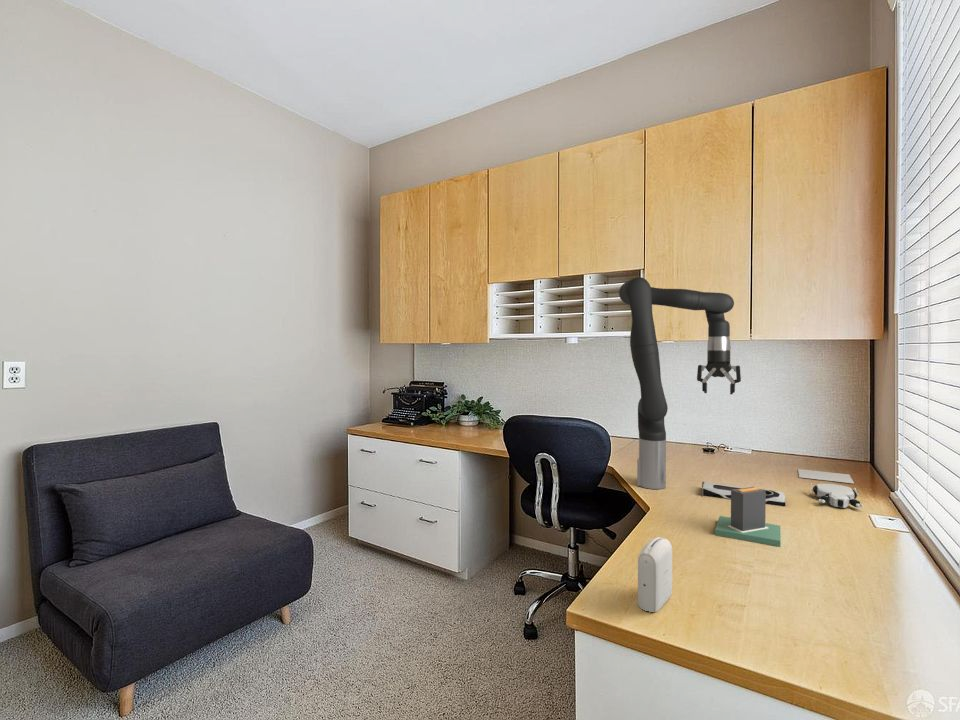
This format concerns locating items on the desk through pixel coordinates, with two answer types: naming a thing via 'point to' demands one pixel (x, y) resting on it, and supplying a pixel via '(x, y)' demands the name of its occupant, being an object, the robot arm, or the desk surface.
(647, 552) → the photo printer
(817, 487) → the robot toy
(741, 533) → the header board
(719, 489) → the graphics card
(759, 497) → the block
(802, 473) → the paper stack
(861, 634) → the desk surface
